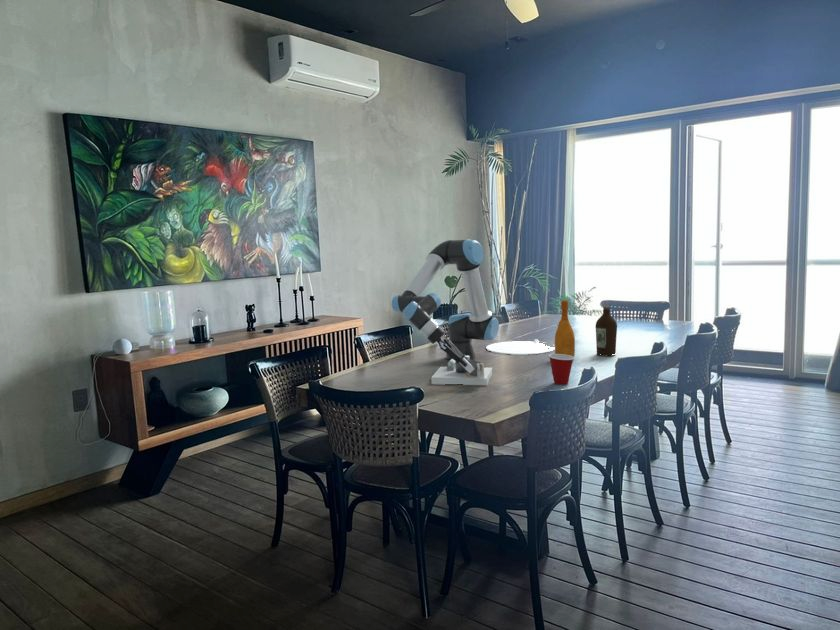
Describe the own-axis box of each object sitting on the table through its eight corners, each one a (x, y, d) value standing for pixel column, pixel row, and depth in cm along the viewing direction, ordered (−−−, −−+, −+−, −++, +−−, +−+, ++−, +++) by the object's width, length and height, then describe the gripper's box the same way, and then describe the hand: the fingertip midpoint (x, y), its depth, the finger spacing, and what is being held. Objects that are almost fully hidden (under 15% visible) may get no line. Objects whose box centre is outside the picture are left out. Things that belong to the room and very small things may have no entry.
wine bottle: (566, 356, 315) (565, 298, 312) (578, 359, 307) (579, 300, 303) (550, 359, 311) (550, 300, 307) (563, 362, 302) (563, 301, 299)
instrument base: (440, 373, 286) (440, 358, 285) (492, 374, 281) (491, 359, 280) (431, 384, 265) (431, 368, 264) (486, 385, 260) (486, 369, 259)
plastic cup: (575, 386, 254) (576, 358, 252) (549, 386, 255) (549, 357, 254) (573, 380, 264) (573, 353, 263) (548, 380, 266) (548, 353, 265)
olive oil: (606, 352, 325) (606, 305, 322) (621, 355, 316) (621, 306, 313) (591, 354, 320) (591, 306, 317) (606, 357, 311) (606, 308, 308)
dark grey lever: (453, 370, 275) (452, 355, 274) (466, 369, 278) (465, 353, 277) (475, 380, 256) (474, 363, 255) (488, 378, 258) (488, 362, 257)
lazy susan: (510, 340, 371) (510, 335, 370) (570, 346, 346) (570, 340, 345) (472, 351, 340) (472, 345, 340) (535, 358, 315) (535, 352, 315)
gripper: (429, 335, 268) (468, 373, 267) (423, 340, 255) (464, 380, 254) (441, 323, 266) (480, 361, 265) (435, 327, 254) (476, 368, 252)
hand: (472, 370), depth 259 cm, fingers closed
